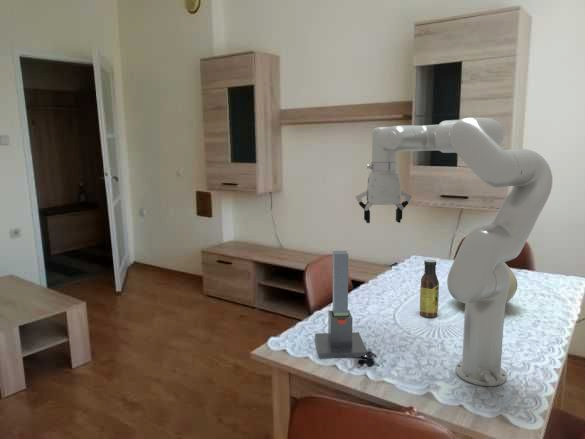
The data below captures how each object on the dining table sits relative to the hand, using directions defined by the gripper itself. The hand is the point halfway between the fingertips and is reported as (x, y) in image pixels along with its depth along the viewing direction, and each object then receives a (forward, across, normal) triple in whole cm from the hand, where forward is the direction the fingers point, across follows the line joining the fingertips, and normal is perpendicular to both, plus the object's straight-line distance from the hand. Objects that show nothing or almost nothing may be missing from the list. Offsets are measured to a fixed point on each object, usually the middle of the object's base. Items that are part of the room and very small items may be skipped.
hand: (382, 222), depth 147 cm
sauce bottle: (+36, +20, +13) cm, 44 cm away
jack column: (+29, -15, -11) cm, 34 cm away
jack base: (+36, -15, -11) cm, 41 cm away
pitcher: (+36, +42, +20) cm, 59 cm away
